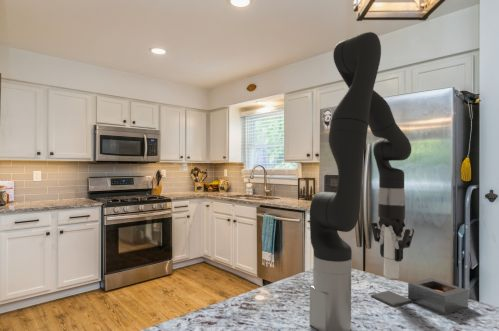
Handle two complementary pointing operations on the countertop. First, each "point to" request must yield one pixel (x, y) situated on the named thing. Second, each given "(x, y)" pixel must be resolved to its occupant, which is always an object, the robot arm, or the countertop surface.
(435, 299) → the frame
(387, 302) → the pad
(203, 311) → the countertop surface
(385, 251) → the tube
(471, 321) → the countertop surface
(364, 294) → the countertop surface
